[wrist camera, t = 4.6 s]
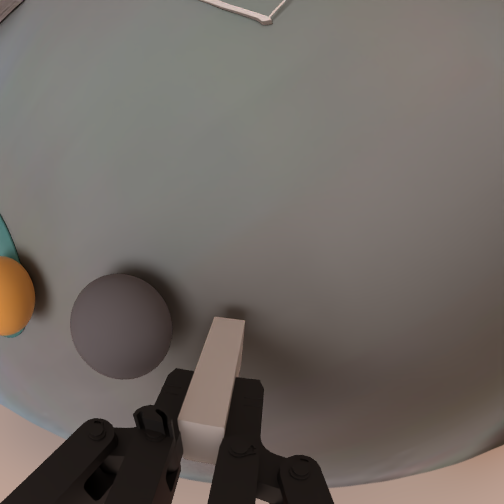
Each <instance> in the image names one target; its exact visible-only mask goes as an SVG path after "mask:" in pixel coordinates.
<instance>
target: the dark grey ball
mask: <svg viewBox="0 0 504 504" xmlns="http://www.w3.org/2000/svg"><path fill="white" fill-rule="evenodd" d="M70 328H71V335H72V339H73V342H74V345H75V347H76V349H77V351H78V353H79V354H80V356H81V357H82V359H83V360H84V361H85V362H86V363H87V364H88V365H89V366H90V367H91V368H93V369H94V370H95V371H97V372H99V373H100V374H102V375H105V376H107V377H110V378H115V379H134V378H138V377H141V376H143V375H146V374H147V373H149V372H151V371H152V370H153V369H155V368H156V367H157V366H158V365H159V364H160V363H161V362H162V360H163V359H164V357H165V356H166V354H167V352H168V350H169V347H170V343H171V339H172V320H171V316H170V312H169V309H168V307H167V305H166V303H165V301H164V299H163V298H162V296H161V295H160V294H159V293H158V292H157V290H155V289H154V288H153V287H152V286H151V285H150V284H148V283H147V282H145V281H143V280H142V279H140V278H137V277H134V276H131V275H126V274H110V275H106V276H102V277H100V278H98V279H96V280H94V281H92V282H91V283H89V284H88V285H87V286H86V287H85V288H84V289H83V290H82V291H81V293H80V294H79V295H78V297H77V299H76V301H75V303H74V306H73V309H72V312H71V319H70Z"/></svg>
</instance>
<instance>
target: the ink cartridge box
mask: <svg viewBox="0 0 504 504" xmlns="http://www.w3.org/2000/svg"><path fill="white" fill-rule="evenodd" d="M22 1H23V0H0V22H1V21H2V20H3V19H4V18H5V17H6V16H7V15H8V14H9V13H10V12H11V11H12V10H13V9H14V8H15V7H16V6H17V5H19V4H20V3H21V2H22Z"/></svg>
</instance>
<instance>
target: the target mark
mask: <svg viewBox="0 0 504 504" xmlns="http://www.w3.org/2000/svg"><path fill="white" fill-rule="evenodd" d="M0 256H5V257H9V258H11V259H14V260H15V261H17V262H18V263H19V264H20V260H19V257H18V254H17V251H16V248H15V245H14V243H13V240H12V238H11V235H10V233H9V231H8V229H7V227H6V224H5V222H4V221H3V219H2V217H1V215H0ZM24 328H25V327H24ZM24 328H23V329H22V330H20V331H19V332H17V333H15V334H12V335H7V336H4V337H8V338H10V337H16V336H18V335H19V334H20V333H21V332H22V331H23V330H24ZM1 336H2V335H1Z"/></svg>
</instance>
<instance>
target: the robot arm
mask: <svg viewBox="0 0 504 504" xmlns="http://www.w3.org/2000/svg"><path fill="white" fill-rule="evenodd" d="M244 327H245V320H238V319H230V318H222V317H214V320H213V322H212V325H211V328H210V330H209V333H208V336H207V339H206V341H205V344H204V347H203V350H202V352H201V355H200V358H199V361H198V363H197V366H196V369H195V372H194V371H189V370H183V369H178V368H176V369H175V370H174V371H172V372H171V373H170V374H169V375H168V376H167V379H166V381H165V383H164V385H163V387H162V389H161V393H160V394H159V396H158V398H157V401H156V403H155V405H148V406H143V407H141V408H139V409H137V410H136V411H135V413H134V414H133V416H134V420H135V423H136V426H137V427H134V428H113V426H112V425H111V424H110V423H109V422H108V421H106V420H104V419H98V418H94V419H90V420H88V421H86V422H85V423H83V424H82V425H81V426H80V427H79V428H78V429H77V430H76V431H75V432H74V433H73V434H72V435H71V436H70V437H69V438H68V439H67V440H66V441H65V442H64V443H63V444H62V445H61V446H60V447H59V448H58V449H57V450H55V451H54V453H52V454H51V455H50V456H49V457H48V458H47V459H46V460H45V461H44V462H43V463H42V464H41V465H40V466H39V467H38V468H37V469H36V470H35V471H34V472H33V473H32V474H31V475H29V476H28V477H27V478H26V480H24V481H23V482H22V483H21V484H20V485H19V486H18V487H17V488H16V489H15V490H14V491H13V492H12V493H11V494H10V495H9V496H7V498H6V499H4V500H3V501H2V502H1V503H0V504H171V503H172V499H173V496H174V492H175V489H176V485H177V482H178V478H179V475H180V471H181V465H180V462H181V458H182V455H183V457H184V459H187V460H192V461H197V462H203V463H208V464H214V465H216V466H215V470H214V475H213V480H212V485H211V490H210V494H209V499H208V504H255V500H256V498H258V499H260V500H263V501H266V502H269V504H334V502H333V500H332V497H331V494H330V492H329V489H328V486H327V484H326V481H325V479H324V476H323V474H322V471H321V468H320V466H319V465H318V463H317V462H316V461H315V460H314V459H312V458H311V457H308V456H304V455H294V456H291V457H288V458H285V457H282V456H279V455H276V454H273V453H271V452H270V451H268V450H267V449H266V448H265V447H264V446H263V444H262V442H261V438H260V433H261V421H262V407H263V395H264V388H263V386H262V384H261V382H260V380H256V379H247V378H239V373H240V367H241V360H242V349H243V338H244Z"/></svg>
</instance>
